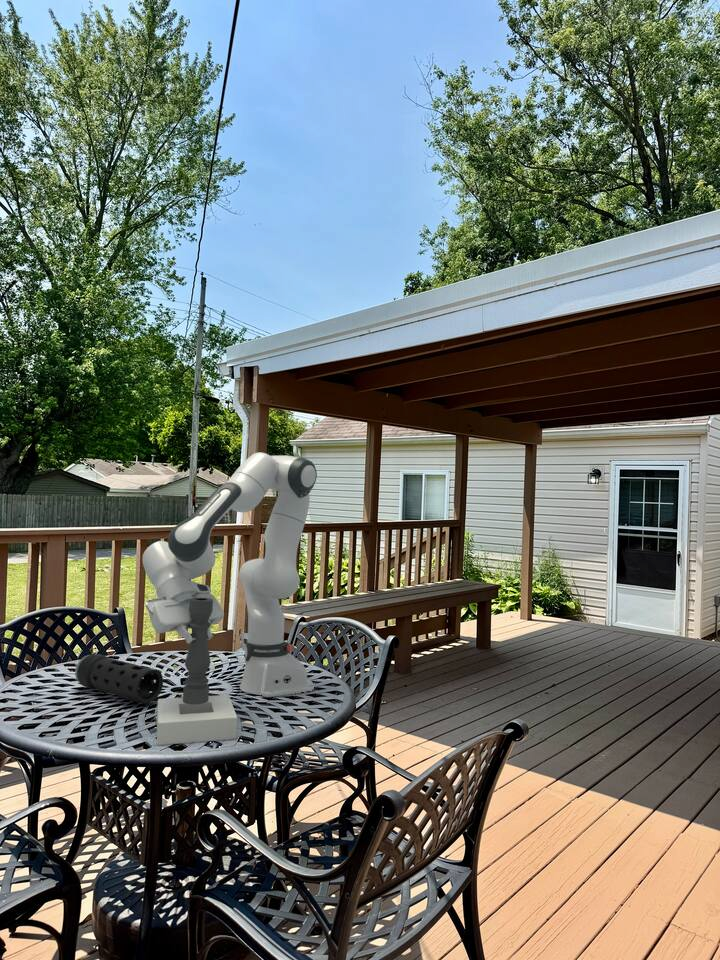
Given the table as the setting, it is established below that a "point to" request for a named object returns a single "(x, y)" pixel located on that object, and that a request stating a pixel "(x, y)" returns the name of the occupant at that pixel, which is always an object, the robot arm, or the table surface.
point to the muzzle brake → (119, 678)
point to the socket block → (195, 720)
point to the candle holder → (198, 653)
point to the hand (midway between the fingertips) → (200, 640)
